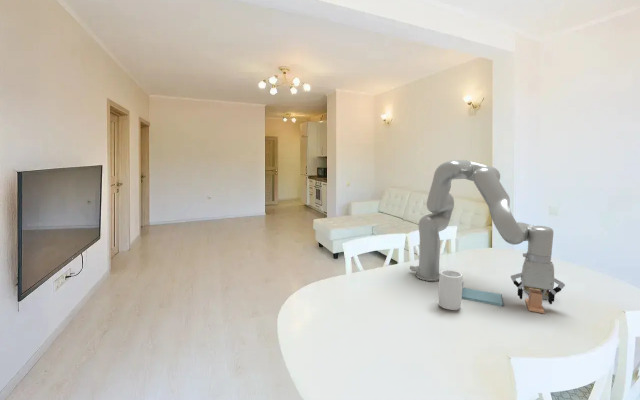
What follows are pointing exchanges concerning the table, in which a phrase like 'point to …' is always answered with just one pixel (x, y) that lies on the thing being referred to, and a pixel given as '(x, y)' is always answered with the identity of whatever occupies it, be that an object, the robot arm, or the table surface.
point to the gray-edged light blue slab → (482, 296)
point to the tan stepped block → (535, 301)
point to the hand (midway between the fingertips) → (535, 300)
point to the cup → (450, 289)
